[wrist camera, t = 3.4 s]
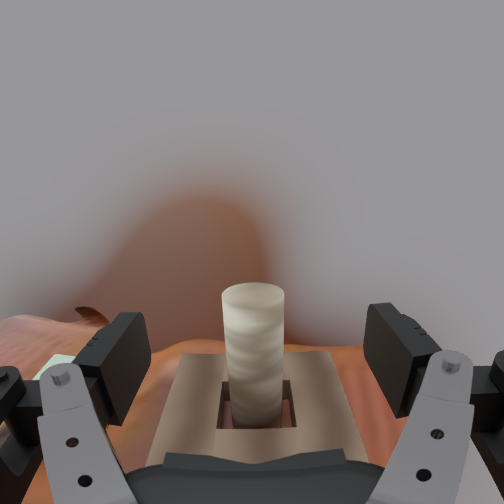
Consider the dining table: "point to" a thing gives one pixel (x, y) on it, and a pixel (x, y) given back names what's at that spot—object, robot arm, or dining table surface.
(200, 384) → the board
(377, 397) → the dining table surface
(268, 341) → the maple peg
